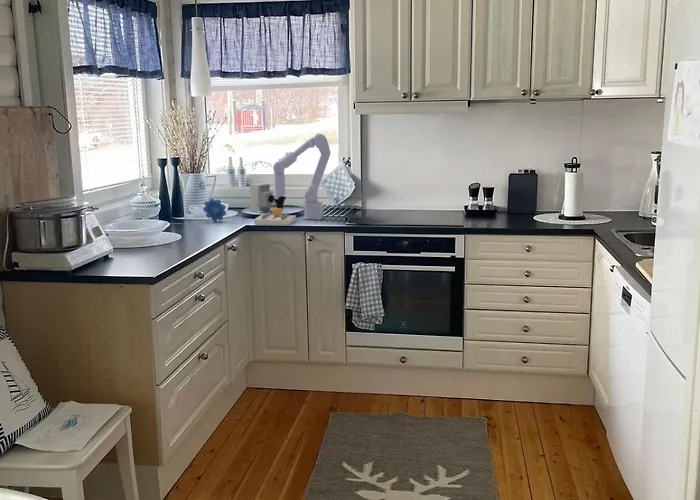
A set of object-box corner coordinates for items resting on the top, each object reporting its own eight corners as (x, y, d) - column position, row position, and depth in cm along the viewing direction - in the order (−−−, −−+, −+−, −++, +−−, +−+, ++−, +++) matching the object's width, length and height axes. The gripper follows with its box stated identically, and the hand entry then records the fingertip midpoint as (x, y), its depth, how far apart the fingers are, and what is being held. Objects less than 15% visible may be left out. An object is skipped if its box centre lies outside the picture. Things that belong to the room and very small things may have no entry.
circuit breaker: (268, 214, 388) (268, 186, 385) (250, 211, 397) (249, 184, 393) (278, 212, 394) (277, 185, 391) (259, 209, 402) (258, 182, 399)
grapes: (205, 223, 363) (203, 200, 361) (203, 220, 370) (202, 198, 367) (227, 221, 367) (227, 198, 364) (225, 219, 373) (224, 196, 370)
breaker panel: (295, 220, 372) (295, 212, 371) (289, 225, 358) (289, 217, 357) (262, 219, 374) (262, 211, 373) (254, 224, 361) (254, 216, 360)
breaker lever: (281, 214, 371) (281, 208, 370) (280, 215, 368) (280, 209, 367) (274, 214, 371) (274, 207, 370) (272, 215, 368) (272, 208, 367)
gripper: (275, 182, 379) (276, 208, 382) (268, 186, 365) (268, 212, 368) (288, 183, 378) (289, 208, 381) (281, 187, 364) (282, 213, 367)
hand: (280, 210), depth 375 cm, fingers closed
